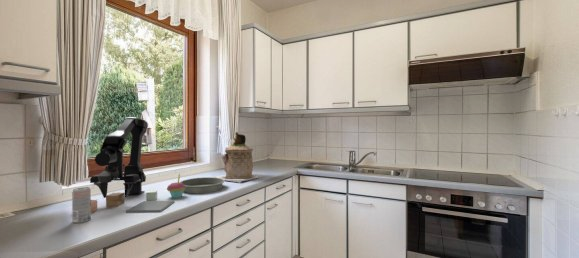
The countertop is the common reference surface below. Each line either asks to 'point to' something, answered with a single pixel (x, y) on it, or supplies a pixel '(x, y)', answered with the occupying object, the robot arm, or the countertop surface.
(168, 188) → the cupcake
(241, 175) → the cookie jar
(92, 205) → the light brown block
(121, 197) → the walnut cube
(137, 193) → the robot arm
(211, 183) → the cake pan
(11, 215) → the countertop surface
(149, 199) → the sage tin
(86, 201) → the energy drink
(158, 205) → the slate trivet
